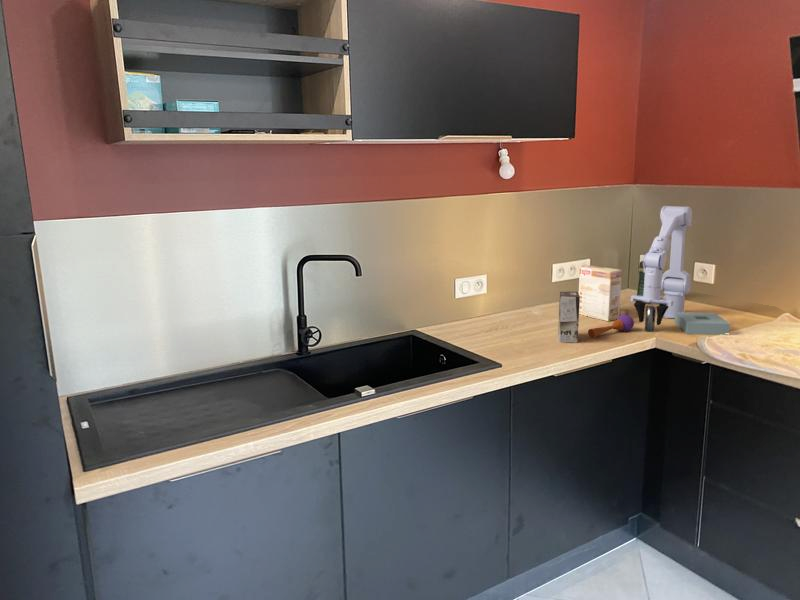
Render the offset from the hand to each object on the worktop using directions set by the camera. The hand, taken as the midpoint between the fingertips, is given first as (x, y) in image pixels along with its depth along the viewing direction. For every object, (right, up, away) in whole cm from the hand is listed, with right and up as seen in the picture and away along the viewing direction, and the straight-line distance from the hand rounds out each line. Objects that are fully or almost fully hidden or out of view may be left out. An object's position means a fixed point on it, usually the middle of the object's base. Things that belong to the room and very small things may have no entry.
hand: (649, 323), depth 226 cm
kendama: (-14, -4, -1) cm, 15 cm away
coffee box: (-32, -5, -7) cm, 33 cm away
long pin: (0, -3, +1) cm, 3 cm away
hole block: (+20, -2, +3) cm, 20 cm away
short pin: (-5, 0, +12) cm, 13 cm away
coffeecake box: (-12, +2, +22) cm, 25 cm away
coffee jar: (+17, +7, +45) cm, 49 cm away
